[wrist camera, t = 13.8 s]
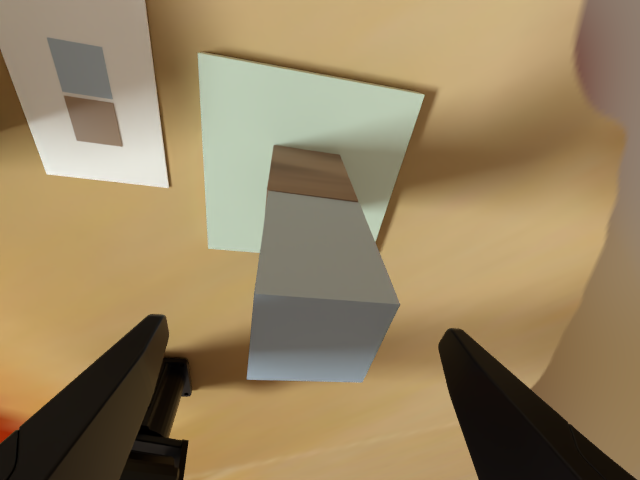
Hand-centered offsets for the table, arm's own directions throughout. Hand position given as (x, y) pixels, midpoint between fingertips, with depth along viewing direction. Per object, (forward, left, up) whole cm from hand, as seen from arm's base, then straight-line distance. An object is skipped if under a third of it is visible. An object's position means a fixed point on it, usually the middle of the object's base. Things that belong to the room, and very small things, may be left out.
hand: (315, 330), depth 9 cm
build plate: (0, 0, -12) cm, 12 cm away
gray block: (0, 0, -6) cm, 6 cm away
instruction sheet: (+3, +12, -12) cm, 18 cm away
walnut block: (0, 0, -12) cm, 12 cm away
